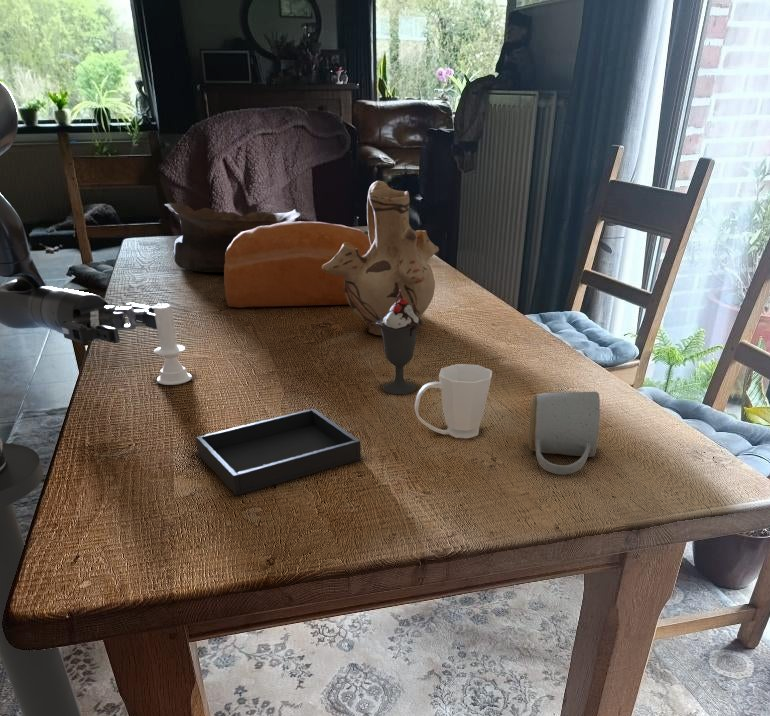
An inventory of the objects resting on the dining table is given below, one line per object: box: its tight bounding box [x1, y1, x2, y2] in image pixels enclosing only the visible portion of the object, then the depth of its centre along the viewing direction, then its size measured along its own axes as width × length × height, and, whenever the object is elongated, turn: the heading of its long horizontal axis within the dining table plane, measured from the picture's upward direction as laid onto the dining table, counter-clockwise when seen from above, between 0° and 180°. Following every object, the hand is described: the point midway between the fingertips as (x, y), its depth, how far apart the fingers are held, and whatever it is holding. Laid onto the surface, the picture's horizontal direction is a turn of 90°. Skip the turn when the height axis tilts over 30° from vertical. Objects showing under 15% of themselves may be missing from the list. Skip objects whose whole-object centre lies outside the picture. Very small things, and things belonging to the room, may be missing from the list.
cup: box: [414, 363, 493, 439], centre depth 90 cm, size 7×10×8 cm
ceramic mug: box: [527, 391, 601, 476], centre depth 84 cm, size 11×8×8 cm
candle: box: [153, 301, 193, 386], centre depth 108 cm, size 5×5×12 cm
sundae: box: [376, 290, 424, 395], centre depth 102 cm, size 7×7×15 cm
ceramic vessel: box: [322, 180, 440, 337], centre depth 126 cm, size 18×19×25 cm
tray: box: [195, 408, 362, 497], centre depth 86 cm, size 16×12×2 cm
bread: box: [223, 221, 371, 309], centre depth 148 cm, size 14×33×16 cm, turn 94°
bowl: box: [163, 202, 301, 273], centre depth 179 cm, size 34×33×15 cm
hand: (139, 329), depth 110 cm, fingers open, 8 cm apart
